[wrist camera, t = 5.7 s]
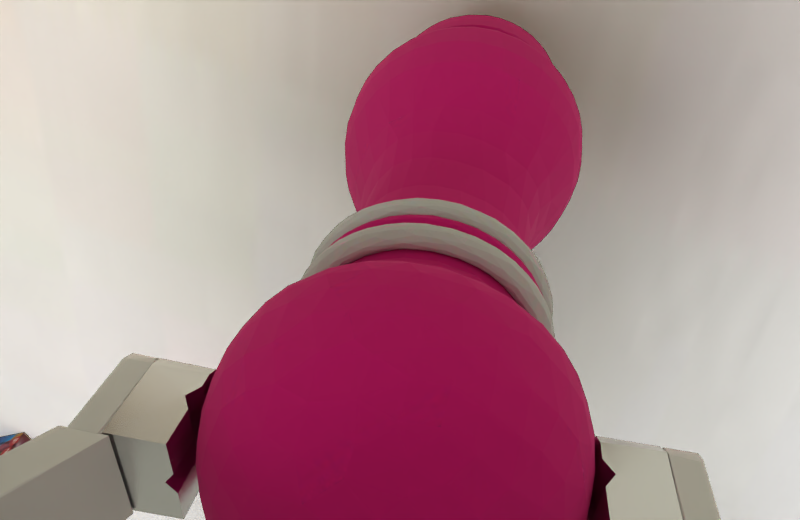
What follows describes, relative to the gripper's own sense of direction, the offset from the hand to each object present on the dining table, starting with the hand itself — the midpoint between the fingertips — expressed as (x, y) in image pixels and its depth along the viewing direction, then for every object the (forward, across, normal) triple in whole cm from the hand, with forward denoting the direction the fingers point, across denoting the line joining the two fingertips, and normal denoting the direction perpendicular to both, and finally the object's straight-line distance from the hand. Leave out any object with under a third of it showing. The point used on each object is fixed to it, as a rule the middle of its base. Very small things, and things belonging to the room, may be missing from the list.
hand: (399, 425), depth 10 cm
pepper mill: (+16, 0, 0) cm, 16 cm away
